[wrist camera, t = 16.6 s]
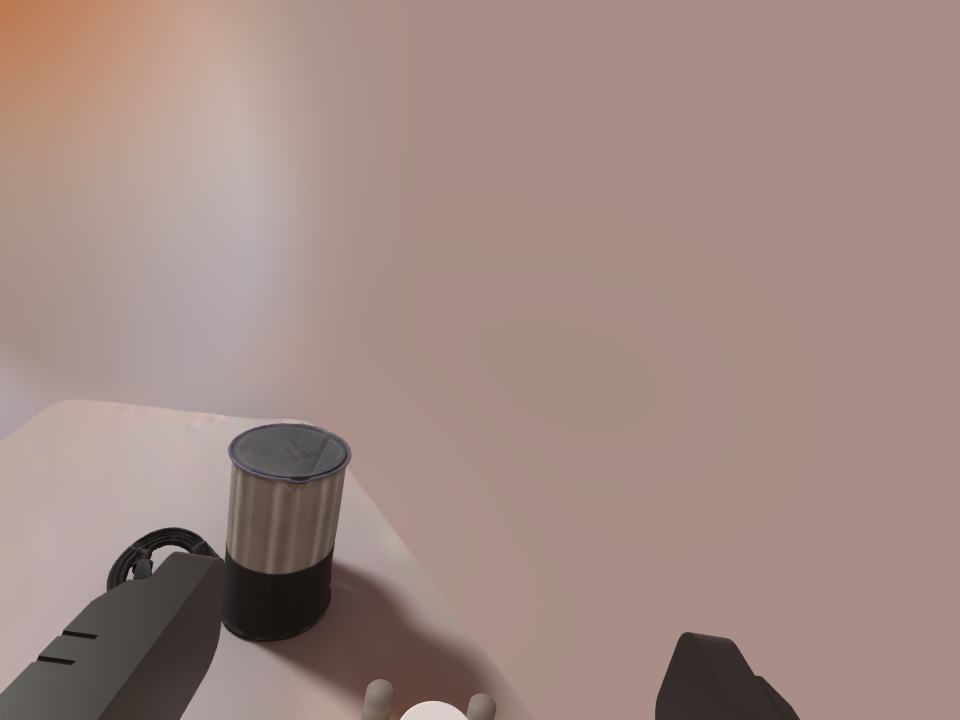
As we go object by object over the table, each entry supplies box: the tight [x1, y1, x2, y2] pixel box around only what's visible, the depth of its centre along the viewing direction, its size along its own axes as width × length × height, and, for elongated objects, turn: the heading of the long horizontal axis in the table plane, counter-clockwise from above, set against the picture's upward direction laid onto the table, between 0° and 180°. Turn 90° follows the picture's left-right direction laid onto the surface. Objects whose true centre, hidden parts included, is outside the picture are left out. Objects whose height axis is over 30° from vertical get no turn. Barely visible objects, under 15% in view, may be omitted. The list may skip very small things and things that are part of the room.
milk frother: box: [107, 423, 351, 640], centre depth 42 cm, size 14×16×15 cm
